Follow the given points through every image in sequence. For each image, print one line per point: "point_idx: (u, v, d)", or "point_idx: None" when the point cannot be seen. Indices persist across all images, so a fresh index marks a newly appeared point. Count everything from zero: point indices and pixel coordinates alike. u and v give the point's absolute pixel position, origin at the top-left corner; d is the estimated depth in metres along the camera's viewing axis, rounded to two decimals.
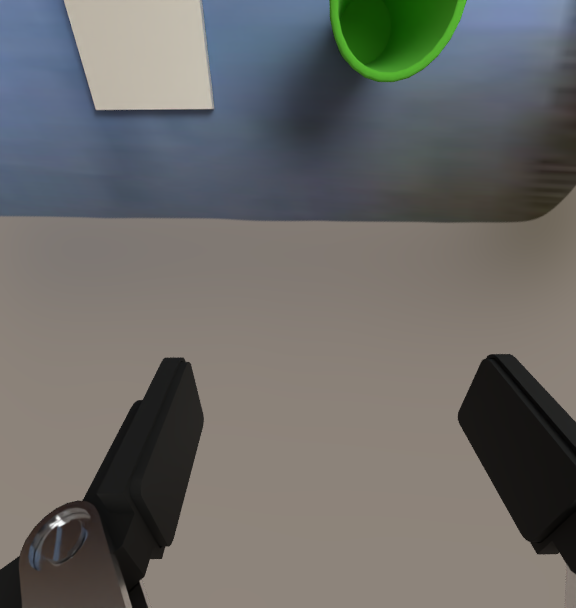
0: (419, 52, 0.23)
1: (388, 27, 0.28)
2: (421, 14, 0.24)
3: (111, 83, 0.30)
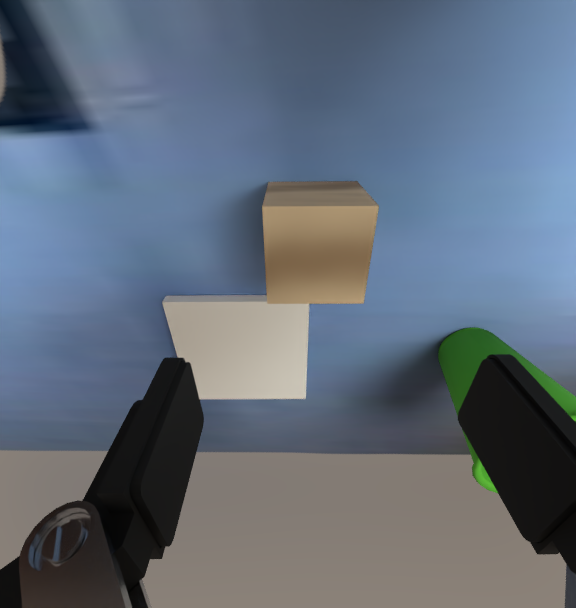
0: None
1: None
2: None
3: (208, 384, 0.30)
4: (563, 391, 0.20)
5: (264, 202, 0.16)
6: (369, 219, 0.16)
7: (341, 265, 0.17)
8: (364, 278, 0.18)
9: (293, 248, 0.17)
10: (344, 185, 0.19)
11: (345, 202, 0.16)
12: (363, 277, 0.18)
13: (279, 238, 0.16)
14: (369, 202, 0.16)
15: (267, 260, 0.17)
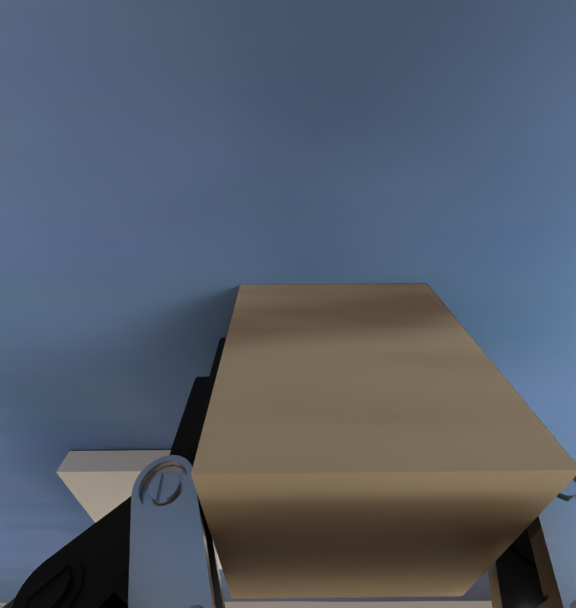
0: None
1: None
2: None
3: None
4: None
5: (206, 430, 0.05)
6: (535, 492, 0.05)
7: (424, 557, 0.06)
8: (478, 570, 0.07)
9: (295, 536, 0.06)
10: (408, 305, 0.09)
11: (455, 427, 0.05)
12: (476, 569, 0.07)
13: (254, 523, 0.06)
14: (530, 432, 0.05)
15: (224, 552, 0.06)
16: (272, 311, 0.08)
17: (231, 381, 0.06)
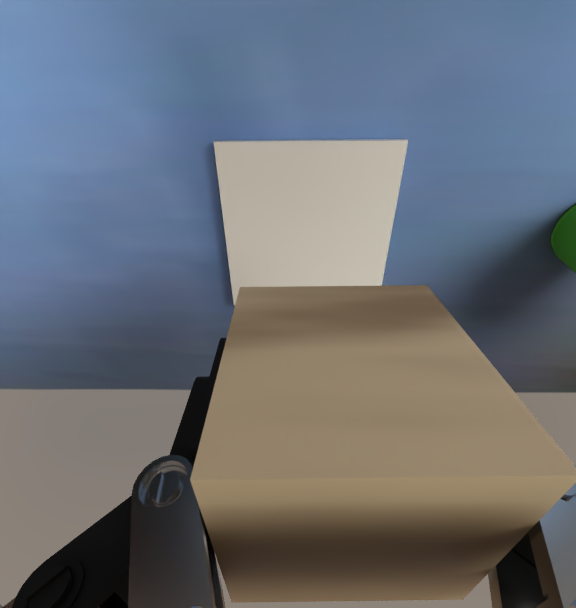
0: None
1: None
2: None
3: (260, 281, 0.24)
4: None
5: (205, 435, 0.05)
6: (536, 497, 0.05)
7: (425, 560, 0.06)
8: (478, 574, 0.07)
9: (294, 541, 0.06)
10: (408, 307, 0.09)
11: (455, 431, 0.05)
12: (476, 573, 0.07)
13: (254, 528, 0.06)
14: (531, 436, 0.05)
15: (223, 557, 0.06)
16: (272, 314, 0.08)
17: (231, 385, 0.06)
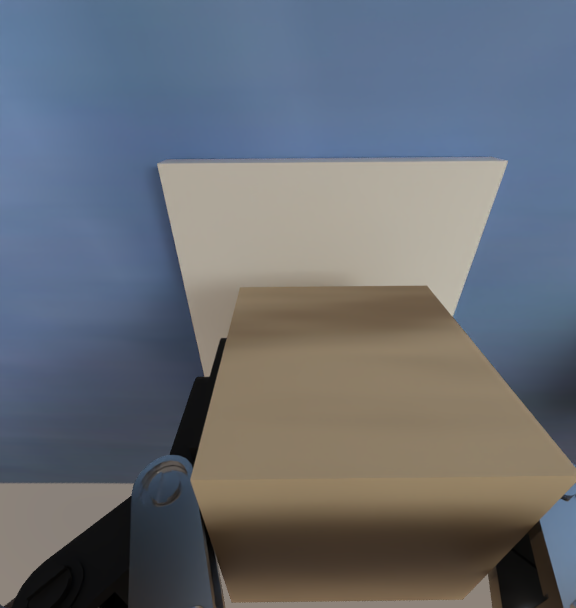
0: None
1: None
2: None
3: None
4: None
5: (205, 435, 0.05)
6: (536, 497, 0.05)
7: (425, 561, 0.06)
8: (478, 574, 0.07)
9: (294, 542, 0.06)
10: (408, 308, 0.09)
11: (455, 432, 0.05)
12: (476, 573, 0.07)
13: (254, 529, 0.06)
14: (530, 437, 0.05)
15: (223, 557, 0.06)
16: (272, 314, 0.08)
17: (231, 385, 0.06)
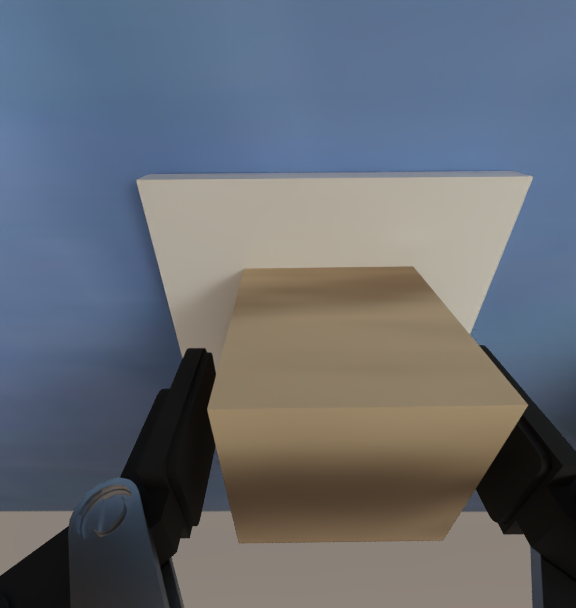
0: None
1: None
2: None
3: None
4: None
5: (218, 379, 0.06)
6: (493, 428, 0.06)
7: (406, 496, 0.07)
8: (454, 511, 0.08)
9: (293, 474, 0.07)
10: (395, 284, 0.10)
11: (427, 375, 0.06)
12: (452, 510, 0.08)
13: (259, 460, 0.07)
14: (490, 379, 0.06)
15: (232, 491, 0.07)
16: (273, 289, 0.09)
17: (238, 343, 0.07)
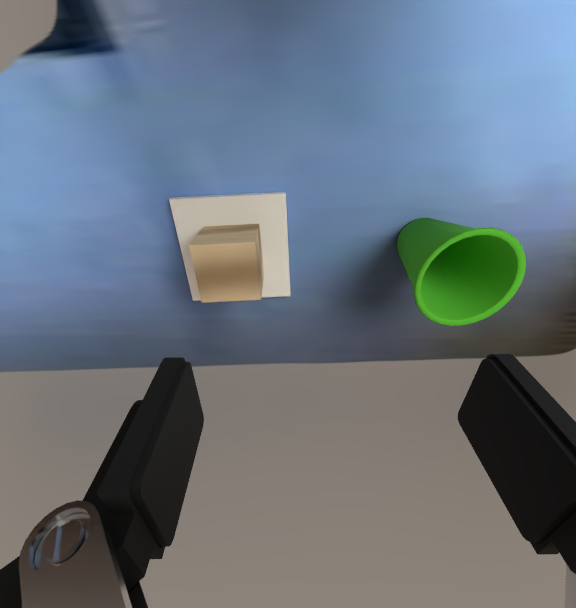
0: (479, 296, 0.28)
1: None
2: (476, 258, 0.29)
3: None
4: None
5: (191, 242, 0.28)
6: (251, 249, 0.28)
7: (241, 276, 0.29)
8: (257, 283, 0.29)
9: (210, 267, 0.28)
10: (248, 227, 0.31)
11: (238, 240, 0.28)
12: (256, 283, 0.29)
13: (201, 262, 0.28)
14: (251, 239, 0.28)
15: (197, 275, 0.29)
16: (210, 230, 0.31)
17: (197, 238, 0.29)
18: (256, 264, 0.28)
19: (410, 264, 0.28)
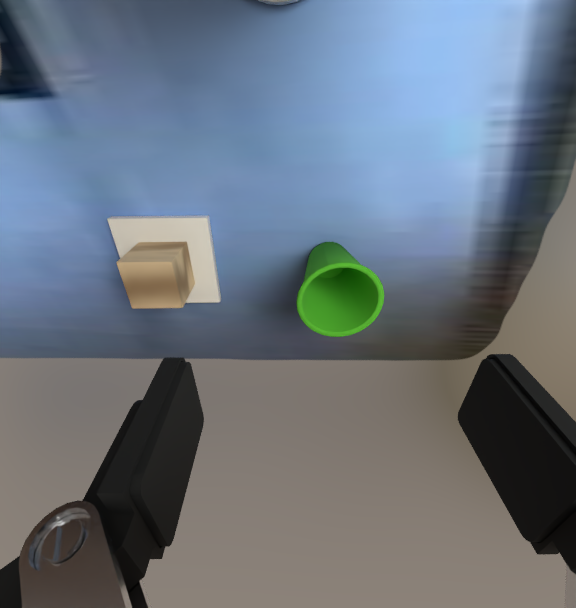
0: (358, 313, 0.34)
1: None
2: (361, 280, 0.35)
3: None
4: (351, 260, 0.31)
5: (120, 259, 0.33)
6: (169, 267, 0.33)
7: (163, 288, 0.35)
8: (178, 295, 0.35)
9: (137, 280, 0.34)
10: (175, 245, 0.37)
11: (159, 258, 0.33)
12: (177, 294, 0.35)
13: (128, 276, 0.34)
14: (170, 259, 0.33)
15: (126, 286, 0.34)
16: (142, 246, 0.37)
17: (127, 255, 0.34)
18: (175, 279, 0.34)
19: None
